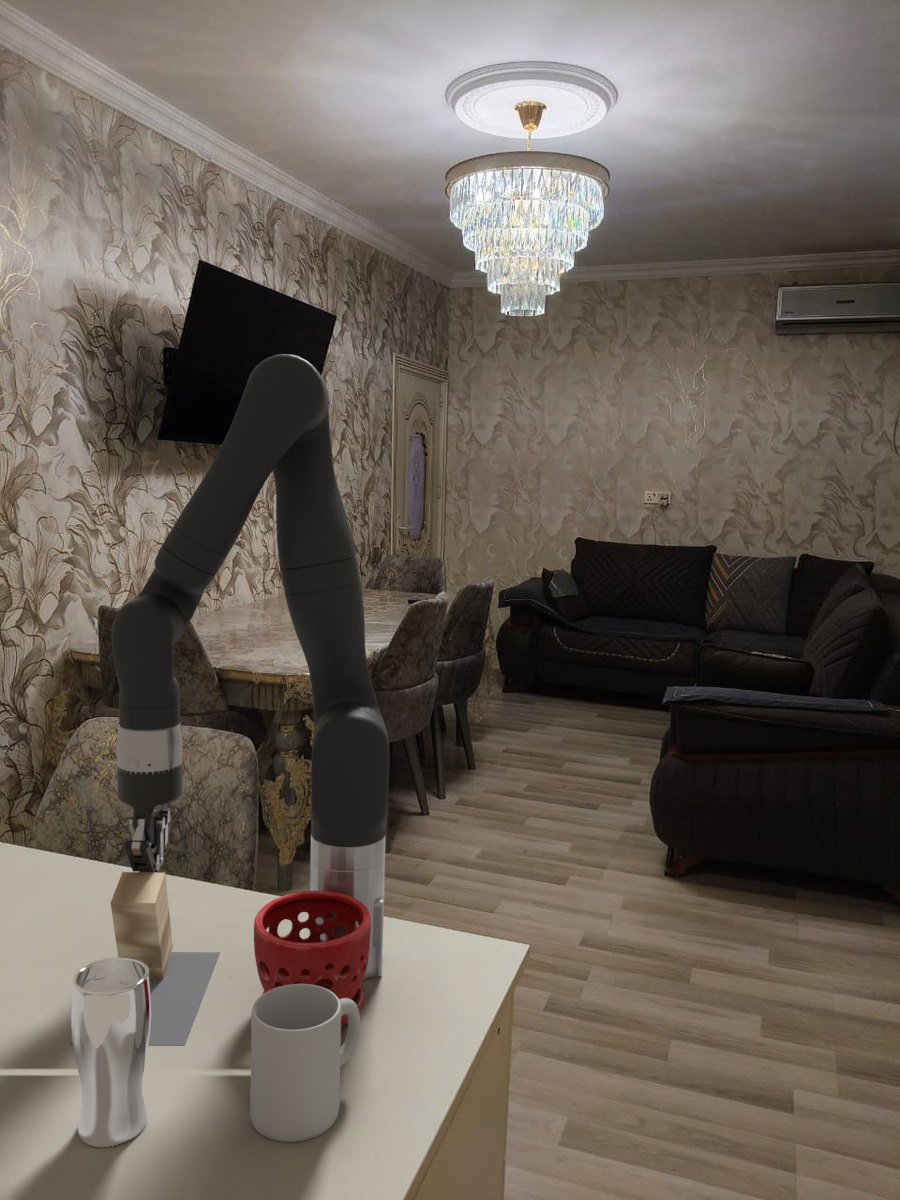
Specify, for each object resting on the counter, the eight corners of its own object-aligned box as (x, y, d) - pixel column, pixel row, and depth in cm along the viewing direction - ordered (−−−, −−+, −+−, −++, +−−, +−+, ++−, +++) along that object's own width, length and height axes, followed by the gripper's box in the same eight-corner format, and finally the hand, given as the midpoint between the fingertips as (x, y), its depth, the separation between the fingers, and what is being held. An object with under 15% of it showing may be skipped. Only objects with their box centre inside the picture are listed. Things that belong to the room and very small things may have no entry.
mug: (285, 1157, 86) (287, 1043, 84) (232, 1111, 91) (233, 1004, 90) (384, 1097, 94) (387, 994, 93) (329, 1060, 100) (331, 961, 99)
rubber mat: (220, 956, 121) (220, 952, 121) (184, 1049, 101) (184, 1045, 101) (124, 955, 120) (124, 951, 120) (69, 1049, 100) (69, 1044, 100)
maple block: (173, 945, 119) (165, 871, 113) (163, 978, 114) (155, 903, 109) (132, 945, 118) (122, 871, 113) (121, 978, 114) (110, 902, 108)
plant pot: (244, 993, 112) (245, 896, 111) (351, 976, 117) (353, 883, 116) (264, 1056, 100) (265, 949, 99) (383, 1034, 105) (386, 931, 104)
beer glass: (85, 1102, 92) (83, 956, 90) (158, 1100, 93) (158, 955, 91) (62, 1152, 85) (60, 995, 83) (142, 1150, 86) (141, 994, 84)
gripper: (167, 777, 108) (167, 922, 110) (193, 745, 121) (193, 875, 123) (100, 776, 108) (101, 921, 110) (134, 744, 121) (134, 874, 123)
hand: (150, 896), depth 117 cm, fingers closed
